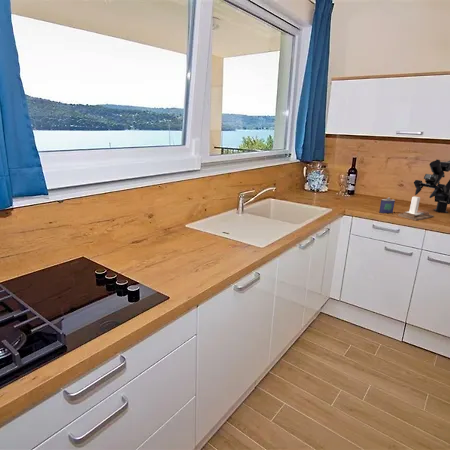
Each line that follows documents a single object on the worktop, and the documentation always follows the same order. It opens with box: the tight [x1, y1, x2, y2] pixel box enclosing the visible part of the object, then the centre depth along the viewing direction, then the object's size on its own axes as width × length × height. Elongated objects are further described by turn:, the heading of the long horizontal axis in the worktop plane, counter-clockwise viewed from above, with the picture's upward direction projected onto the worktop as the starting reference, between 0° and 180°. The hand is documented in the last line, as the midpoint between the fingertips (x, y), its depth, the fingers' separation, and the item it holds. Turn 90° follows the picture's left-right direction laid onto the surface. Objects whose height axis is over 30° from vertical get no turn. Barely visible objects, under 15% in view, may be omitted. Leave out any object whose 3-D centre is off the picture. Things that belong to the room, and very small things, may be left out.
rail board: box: [397, 208, 435, 221], centre depth 214 cm, size 20×12×3 cm, turn 121°
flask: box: [378, 196, 396, 215], centre depth 219 cm, size 9×3×11 cm, turn 95°
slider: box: [406, 195, 421, 216], centre depth 210 cm, size 6×6×11 cm
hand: (422, 196), depth 212 cm, fingers open, 9 cm apart
